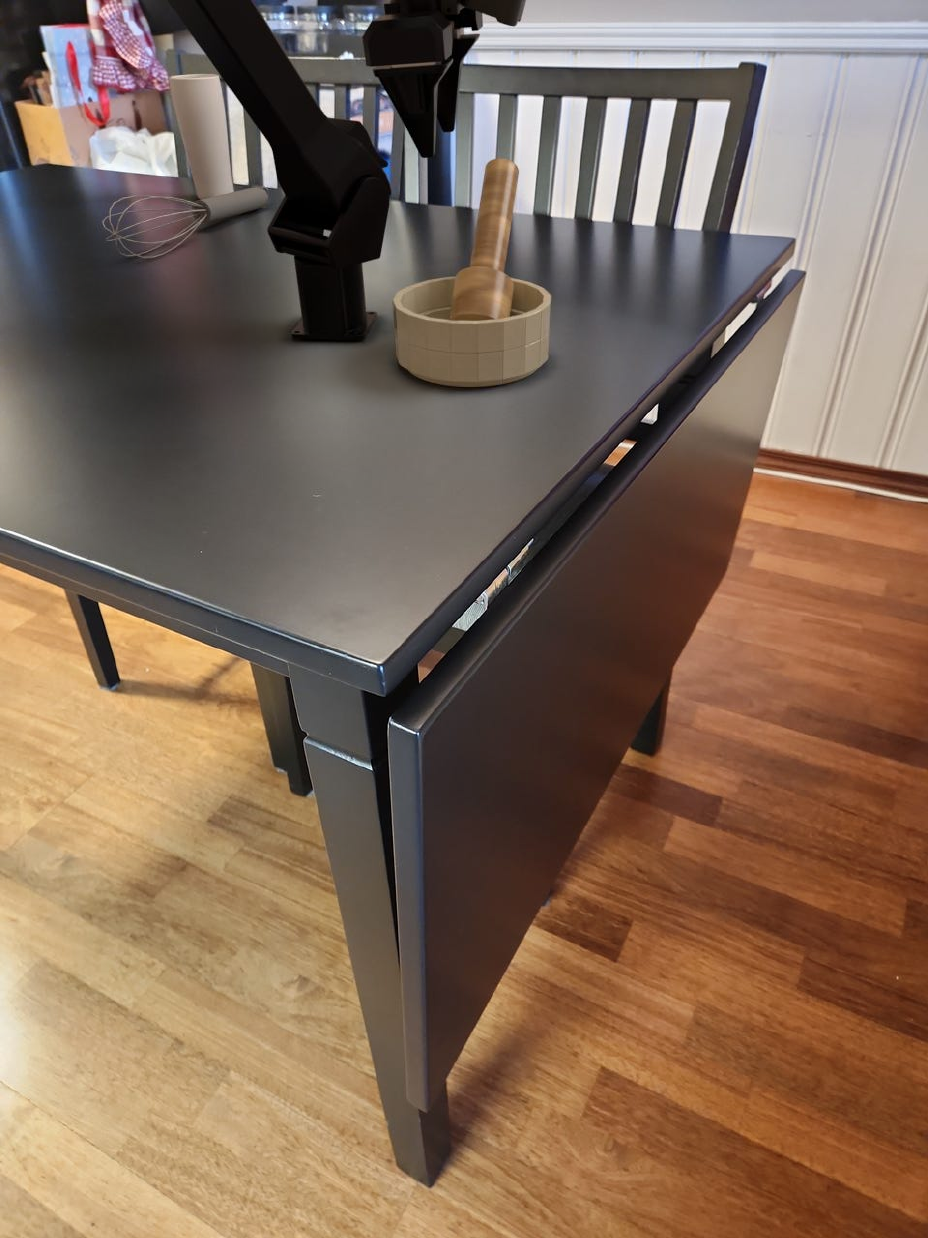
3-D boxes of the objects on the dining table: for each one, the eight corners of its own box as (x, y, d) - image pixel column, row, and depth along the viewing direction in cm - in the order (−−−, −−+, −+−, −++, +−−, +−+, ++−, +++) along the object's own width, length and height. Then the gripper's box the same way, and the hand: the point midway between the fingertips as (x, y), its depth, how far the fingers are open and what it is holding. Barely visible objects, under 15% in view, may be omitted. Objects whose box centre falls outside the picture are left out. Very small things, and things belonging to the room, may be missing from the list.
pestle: (459, 307, 63) (485, 140, 65) (440, 332, 68) (465, 175, 69) (516, 325, 65) (540, 162, 66) (494, 348, 69) (517, 195, 71)
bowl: (545, 392, 62) (548, 324, 58) (385, 388, 63) (379, 321, 60) (549, 336, 71) (552, 276, 68) (410, 334, 72) (407, 274, 69)
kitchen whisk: (288, 204, 116) (281, 154, 112) (146, 271, 91) (131, 208, 87) (250, 203, 117) (241, 152, 114) (100, 267, 92) (82, 205, 88)
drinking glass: (183, 201, 119) (157, 77, 110) (207, 192, 124) (185, 73, 115) (224, 204, 117) (202, 78, 108) (248, 194, 122) (228, 73, 113)
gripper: (504, -93, 55) (514, 167, 65) (536, -102, 68) (540, 115, 79) (344, -76, 57) (379, 174, 67) (406, -88, 70) (427, 122, 81)
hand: (438, 143), depth 73 cm, fingers open, 9 cm apart
